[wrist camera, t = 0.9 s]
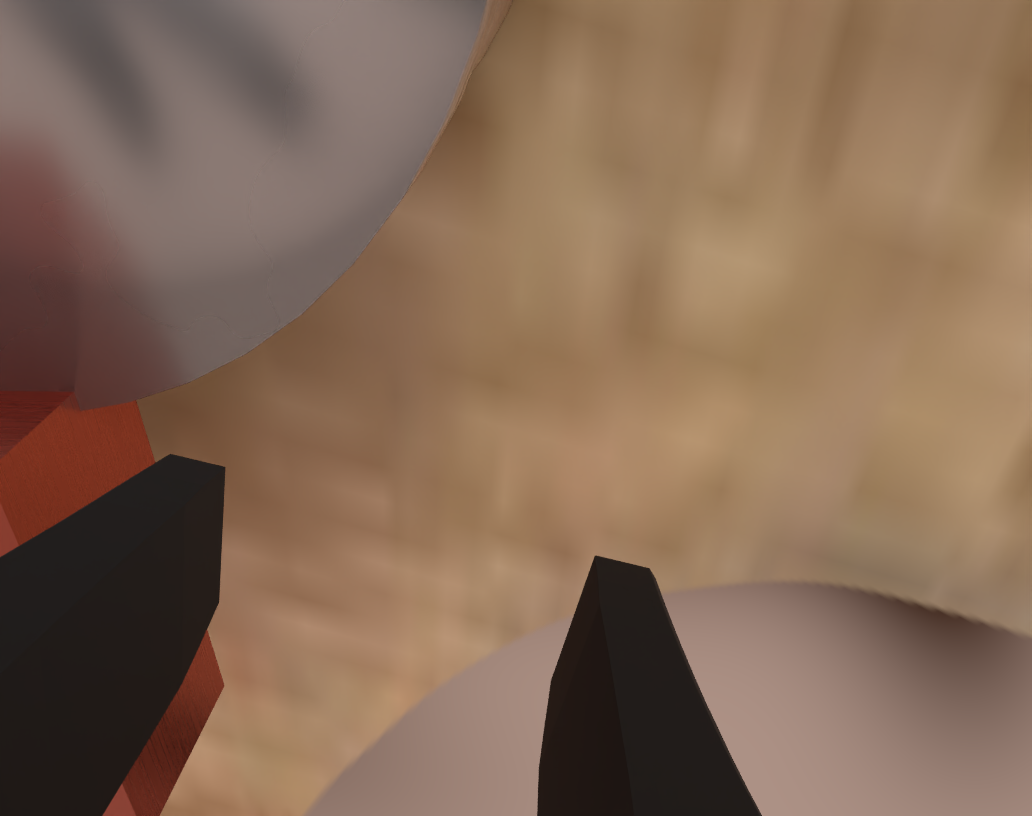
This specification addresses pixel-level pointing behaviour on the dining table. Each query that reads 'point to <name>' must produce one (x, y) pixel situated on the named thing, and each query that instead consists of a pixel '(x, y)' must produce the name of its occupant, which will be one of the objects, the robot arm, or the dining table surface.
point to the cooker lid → (187, 224)
